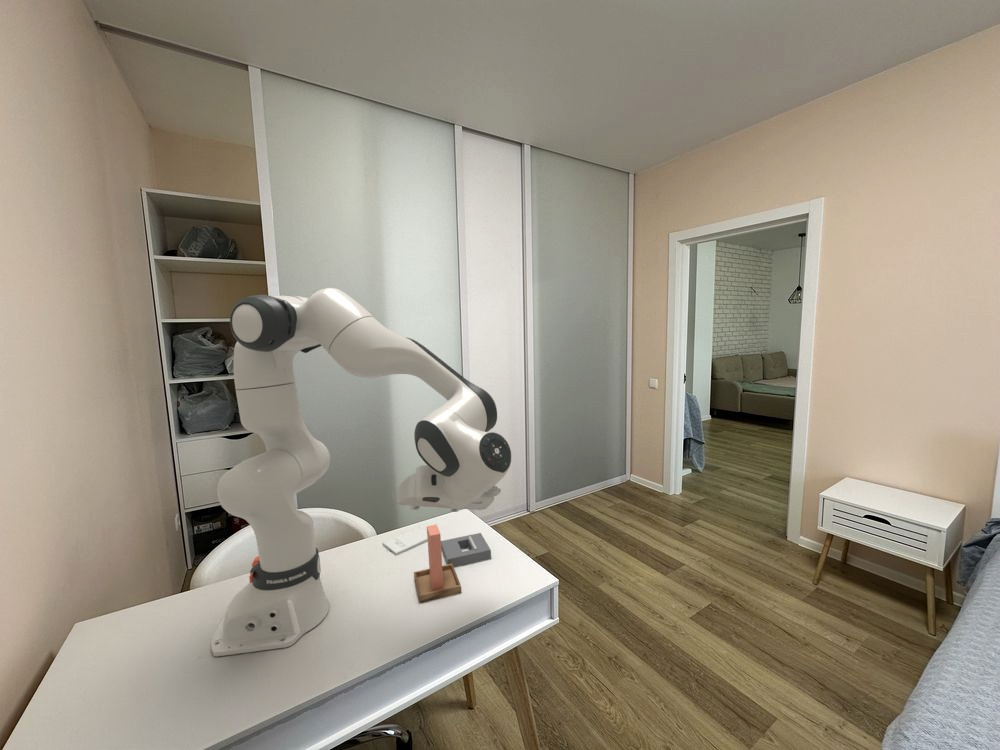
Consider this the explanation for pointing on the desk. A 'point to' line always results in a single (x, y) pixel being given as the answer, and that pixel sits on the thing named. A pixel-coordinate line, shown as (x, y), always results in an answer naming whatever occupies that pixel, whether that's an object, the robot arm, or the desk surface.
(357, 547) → the desk surface
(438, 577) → the pink rectangular bar
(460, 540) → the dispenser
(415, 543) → the external hard drive
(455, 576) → the tray
